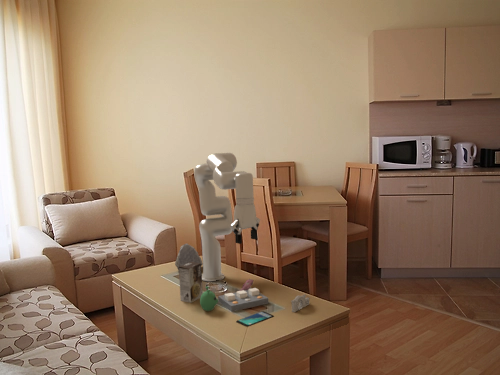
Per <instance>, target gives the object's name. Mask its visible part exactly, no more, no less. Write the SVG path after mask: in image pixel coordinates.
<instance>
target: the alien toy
mask: <svg viewBox="0 0 500 375" xmlns="http://www.w3.org/2000/svg"><path fill="white" fill-rule="evenodd" d="M209 288H210V286H205V289H206V291H203V294H202V295H201V297H200V298H199V304H200V307H201V308H202V309H203V310H204V311H206V312H210V311H213V310H214V309H215V307H216V305H217V304H218V303H219V302H218V298H217V296H216V294H215V292H213V291H211V290H210V289H209Z"/></svg>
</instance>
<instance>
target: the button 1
mask: <svg viewBox="0 0 500 375" xmlns="http://www.w3.org/2000/svg"><path fill="white" fill-rule="evenodd" d="M233 293H234V292H229V293H224V294H223V295H224V299H225V300H226V301H231V300H235V295H234V294H233Z"/></svg>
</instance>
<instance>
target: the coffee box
mask: <svg viewBox="0 0 500 375" xmlns="http://www.w3.org/2000/svg"><path fill="white" fill-rule="evenodd" d="M178 274H179V277H178V278H179V296H180V299H179V300H180V301H182V302H185V303H191V304H192V303H194V302H195V301H197V300H200V297H201V295H202V294H203V293H204V291H203V280H202V274H203V271H202V266H201V263H197V262H188V263H186V264H184V265H182V266H179V270H178Z"/></svg>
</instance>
